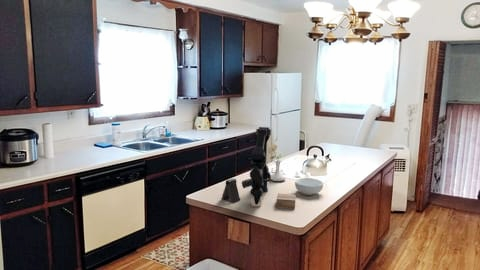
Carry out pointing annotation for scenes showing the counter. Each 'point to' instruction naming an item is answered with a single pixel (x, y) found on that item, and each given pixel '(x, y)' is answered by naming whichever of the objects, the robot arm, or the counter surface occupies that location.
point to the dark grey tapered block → (231, 191)
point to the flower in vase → (277, 174)
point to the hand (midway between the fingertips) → (256, 202)
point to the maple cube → (254, 201)
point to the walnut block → (285, 201)
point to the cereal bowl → (308, 186)
